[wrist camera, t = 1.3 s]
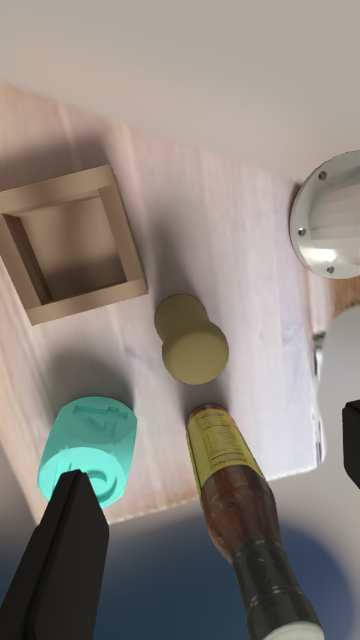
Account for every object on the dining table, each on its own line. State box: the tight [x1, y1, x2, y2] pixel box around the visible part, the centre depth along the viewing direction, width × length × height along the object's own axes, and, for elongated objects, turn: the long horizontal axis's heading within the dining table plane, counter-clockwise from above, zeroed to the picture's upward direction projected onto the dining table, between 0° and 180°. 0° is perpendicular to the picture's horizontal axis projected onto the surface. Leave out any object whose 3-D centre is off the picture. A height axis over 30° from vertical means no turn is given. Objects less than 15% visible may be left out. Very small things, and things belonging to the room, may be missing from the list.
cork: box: [155, 294, 229, 385], centre depth 24 cm, size 6×6×11 cm
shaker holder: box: [0, 164, 148, 326], centre depth 24 cm, size 11×11×4 cm
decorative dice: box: [37, 396, 137, 509], centre depth 27 cm, size 8×8×8 cm
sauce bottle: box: [186, 405, 324, 640], centre depth 23 cm, size 7×6×20 cm
